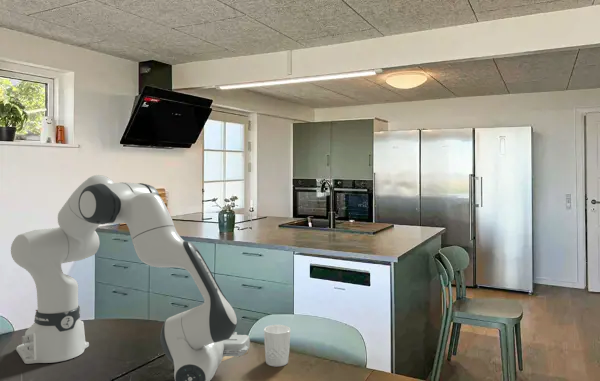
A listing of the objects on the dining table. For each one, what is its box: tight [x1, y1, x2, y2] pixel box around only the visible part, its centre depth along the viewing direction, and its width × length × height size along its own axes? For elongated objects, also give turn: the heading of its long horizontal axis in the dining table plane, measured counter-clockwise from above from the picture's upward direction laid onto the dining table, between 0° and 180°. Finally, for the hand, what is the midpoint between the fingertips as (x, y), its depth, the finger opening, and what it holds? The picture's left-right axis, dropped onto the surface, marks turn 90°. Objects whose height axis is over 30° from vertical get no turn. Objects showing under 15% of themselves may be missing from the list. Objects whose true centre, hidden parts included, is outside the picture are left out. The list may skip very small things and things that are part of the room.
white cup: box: [263, 324, 291, 368], centre depth 136 cm, size 8×8×10 cm
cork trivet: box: [221, 350, 249, 363], centre depth 141 cm, size 11×11×1 cm
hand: (218, 334), depth 134 cm, fingers open, 8 cm apart
